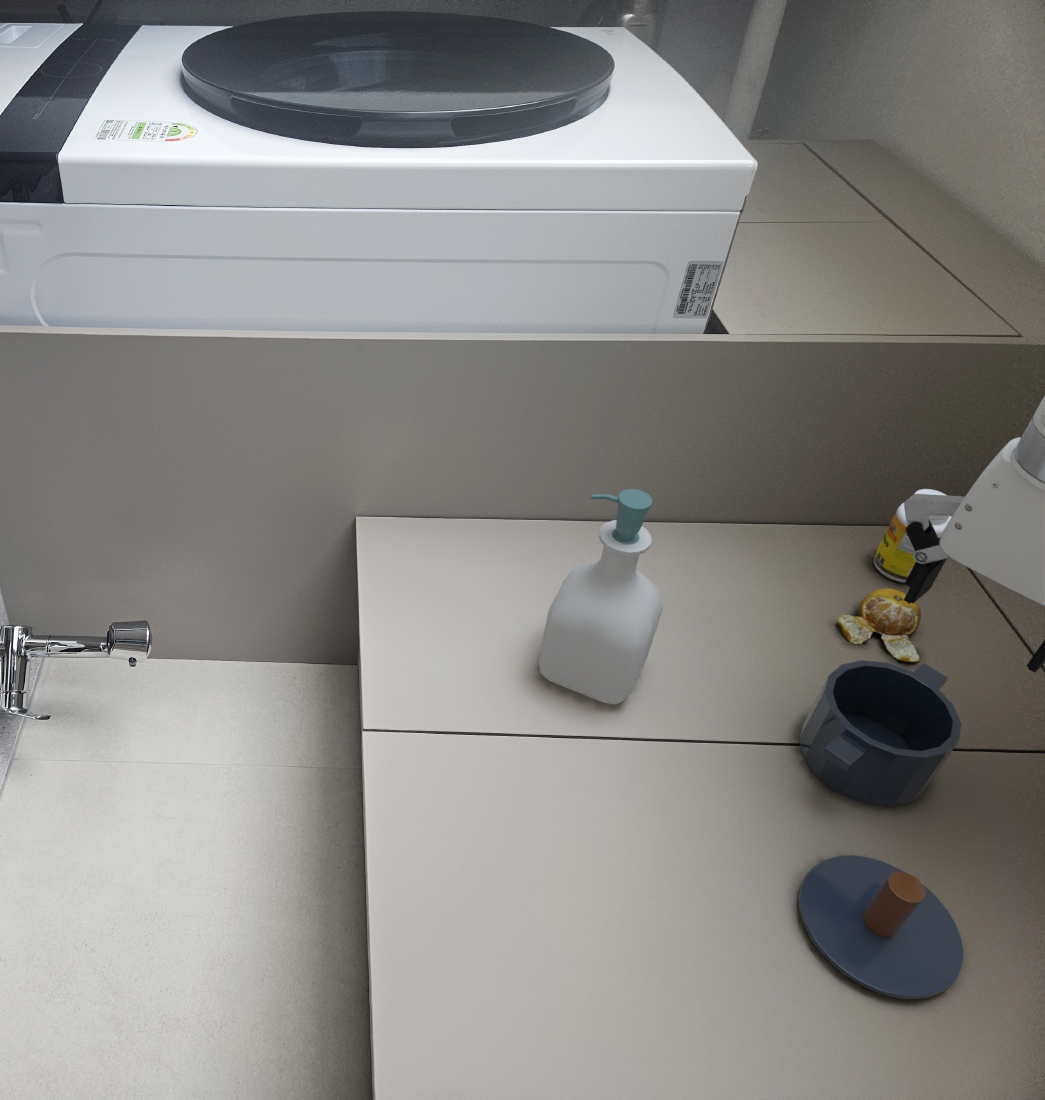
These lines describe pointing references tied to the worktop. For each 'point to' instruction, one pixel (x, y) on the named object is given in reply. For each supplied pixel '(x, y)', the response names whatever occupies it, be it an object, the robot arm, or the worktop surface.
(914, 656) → the fruit
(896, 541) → the supplement bottle
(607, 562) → the soap bottle
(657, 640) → the worktop surface
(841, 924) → the lid
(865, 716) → the pot
